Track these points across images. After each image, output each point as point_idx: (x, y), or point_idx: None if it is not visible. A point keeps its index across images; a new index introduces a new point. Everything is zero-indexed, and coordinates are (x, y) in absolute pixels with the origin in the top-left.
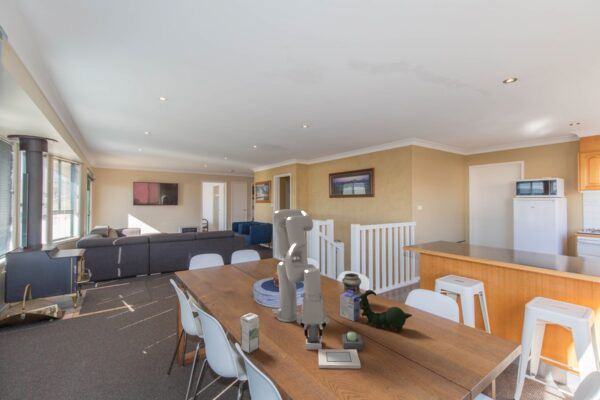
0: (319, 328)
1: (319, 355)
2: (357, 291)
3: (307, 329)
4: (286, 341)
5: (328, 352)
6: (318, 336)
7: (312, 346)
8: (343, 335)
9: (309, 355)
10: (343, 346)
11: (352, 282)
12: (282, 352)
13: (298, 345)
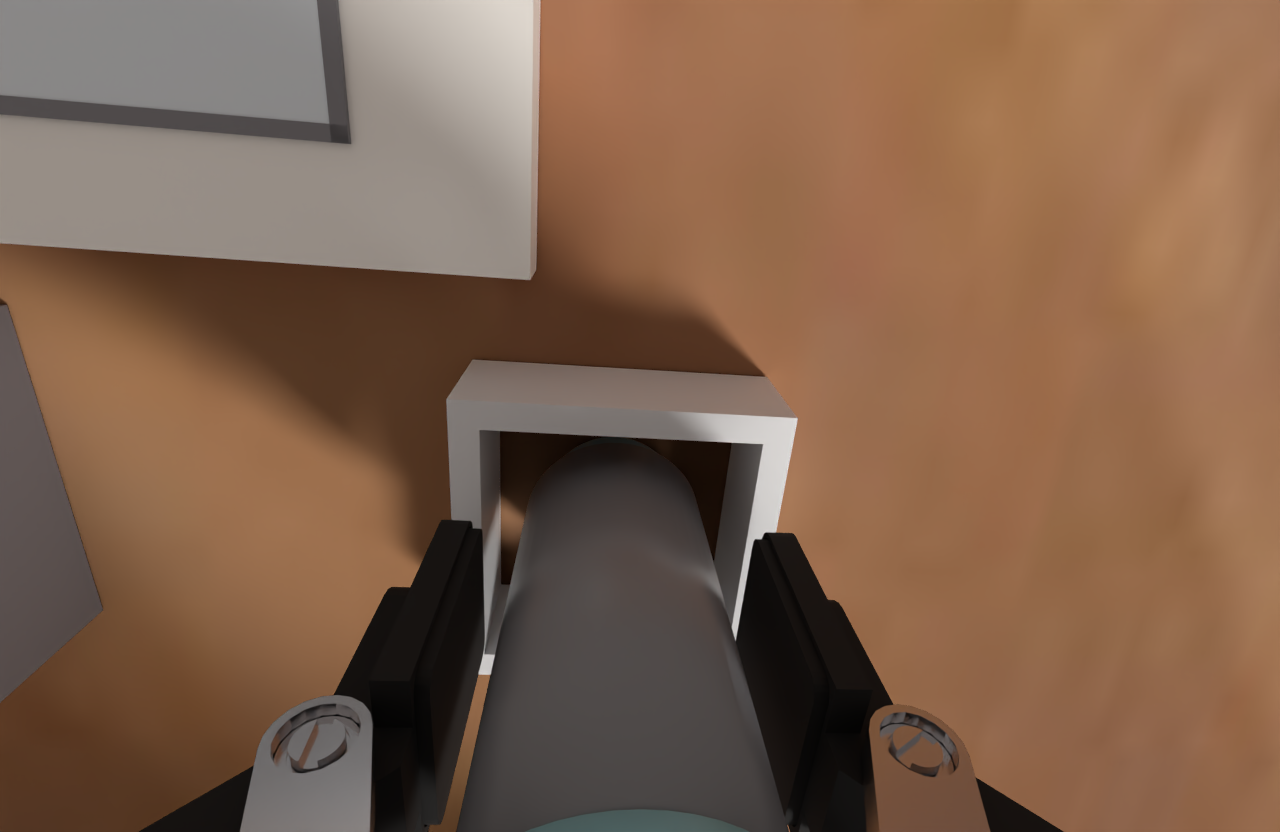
0: (418, 768)
1: (510, 7)
2: None
3: (810, 724)
4: (1039, 615)
5: (289, 117)
6: None
7: (647, 389)
8: None
9: (722, 164)
10: (11, 403)
11: None
12: (1198, 305)
13: (874, 504)
